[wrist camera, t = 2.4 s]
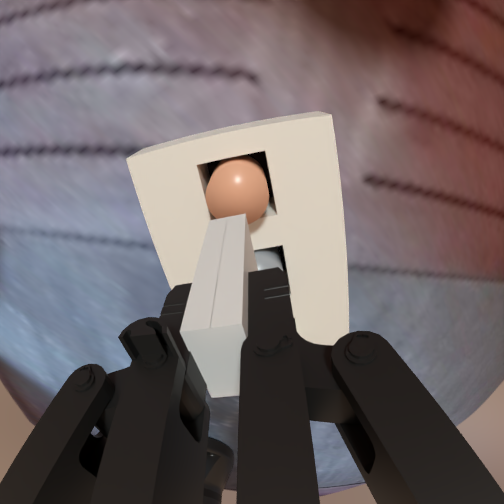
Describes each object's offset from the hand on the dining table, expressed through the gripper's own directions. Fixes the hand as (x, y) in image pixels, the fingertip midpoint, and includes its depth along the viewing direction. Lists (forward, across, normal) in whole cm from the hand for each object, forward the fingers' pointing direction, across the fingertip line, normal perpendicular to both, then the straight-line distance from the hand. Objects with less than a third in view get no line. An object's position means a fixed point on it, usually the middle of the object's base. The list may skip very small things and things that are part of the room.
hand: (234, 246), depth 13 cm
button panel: (+13, 0, +7) cm, 15 cm away
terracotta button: (+11, 0, 0) cm, 11 cm away
